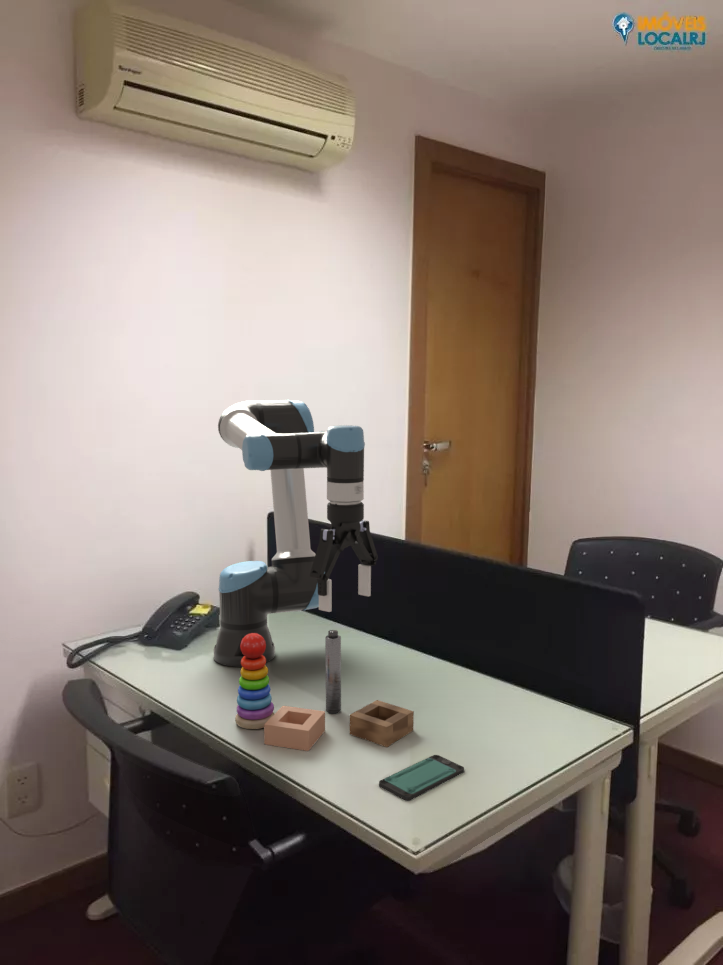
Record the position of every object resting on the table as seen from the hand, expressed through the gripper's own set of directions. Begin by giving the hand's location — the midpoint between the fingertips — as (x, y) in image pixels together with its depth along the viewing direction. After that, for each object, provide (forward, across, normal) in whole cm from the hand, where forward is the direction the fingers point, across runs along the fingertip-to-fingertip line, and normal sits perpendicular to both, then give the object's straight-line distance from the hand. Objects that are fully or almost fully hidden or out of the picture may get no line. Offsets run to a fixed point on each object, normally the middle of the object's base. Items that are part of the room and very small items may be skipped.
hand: (345, 602), depth 164 cm
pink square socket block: (+23, -17, 0) cm, 28 cm away
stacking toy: (+23, -16, +11) cm, 30 cm away
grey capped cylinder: (+23, -3, +1) cm, 23 cm away
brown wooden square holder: (+23, -5, -13) cm, 27 cm away
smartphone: (+23, -16, -28) cm, 40 cm away
